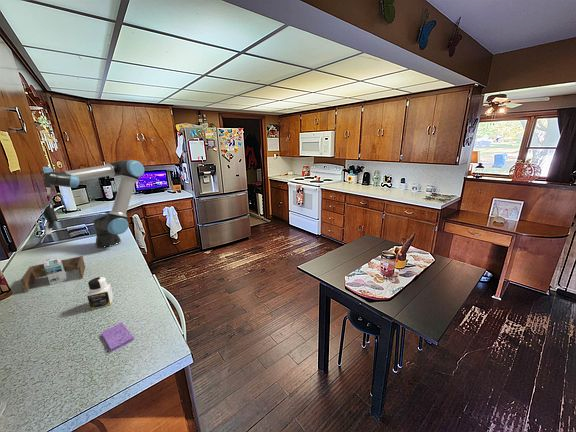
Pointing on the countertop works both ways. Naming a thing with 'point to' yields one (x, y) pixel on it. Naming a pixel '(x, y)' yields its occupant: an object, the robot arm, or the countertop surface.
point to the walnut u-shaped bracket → (41, 272)
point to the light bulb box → (55, 270)
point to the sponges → (117, 336)
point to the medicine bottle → (99, 293)
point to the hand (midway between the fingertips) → (36, 232)
